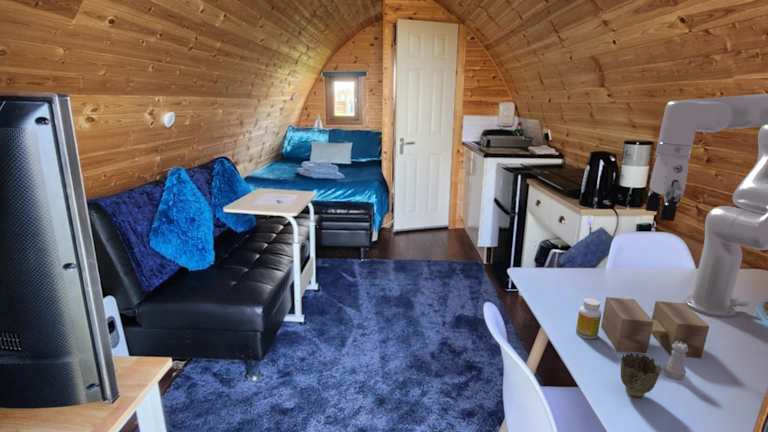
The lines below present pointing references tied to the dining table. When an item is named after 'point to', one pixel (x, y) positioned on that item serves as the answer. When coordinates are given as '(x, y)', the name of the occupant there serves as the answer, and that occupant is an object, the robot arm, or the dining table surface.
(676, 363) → the rook chess piece
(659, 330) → the gold metallic block
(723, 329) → the dining table surface
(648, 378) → the cup
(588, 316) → the supplement bottle
